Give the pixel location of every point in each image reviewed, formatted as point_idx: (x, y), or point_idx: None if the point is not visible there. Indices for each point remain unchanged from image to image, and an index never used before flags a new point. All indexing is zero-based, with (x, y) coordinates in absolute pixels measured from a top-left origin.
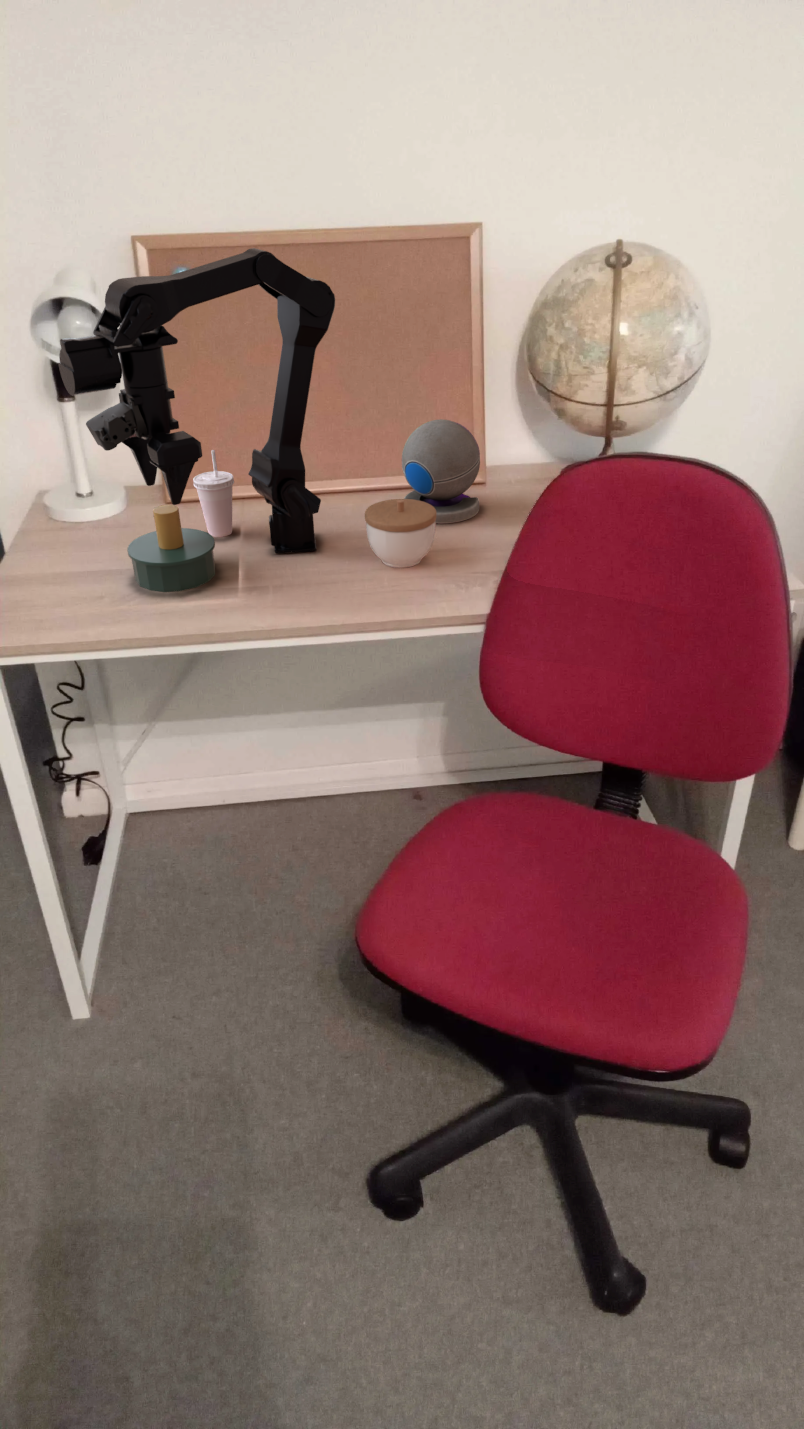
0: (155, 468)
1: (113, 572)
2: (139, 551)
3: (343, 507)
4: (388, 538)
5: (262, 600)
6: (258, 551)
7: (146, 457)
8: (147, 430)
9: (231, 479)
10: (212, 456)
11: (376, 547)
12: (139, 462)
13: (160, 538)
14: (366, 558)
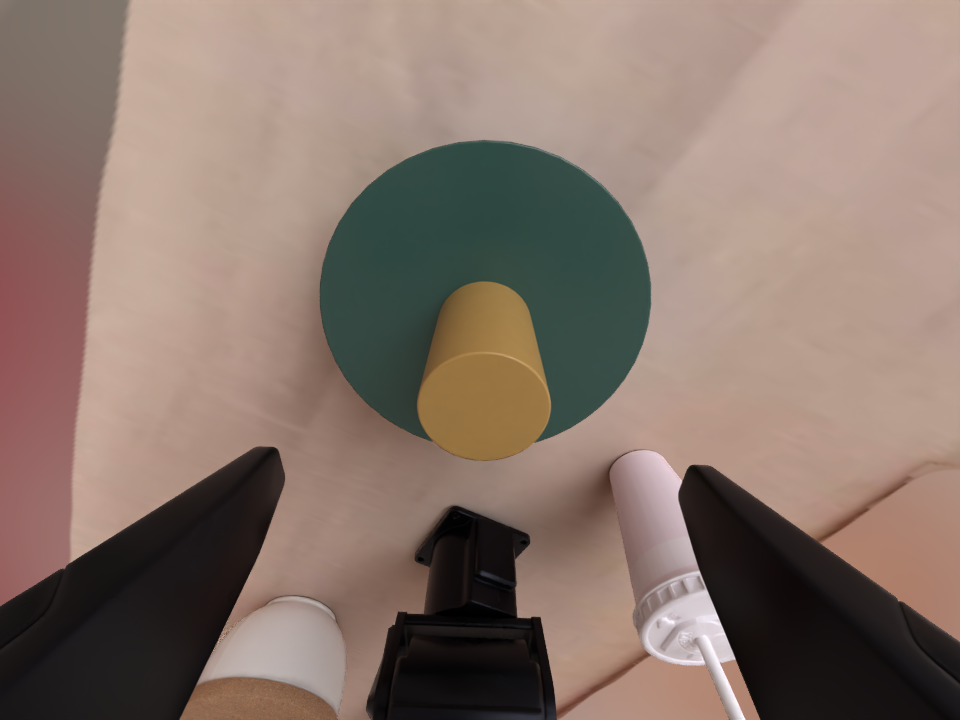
0: (723, 613)
1: (672, 128)
2: (507, 196)
3: (564, 649)
4: (213, 663)
5: (235, 386)
6: (494, 487)
7: (834, 707)
8: None
9: (647, 651)
10: None
11: (258, 628)
12: (840, 623)
13: (468, 299)
14: (335, 589)
